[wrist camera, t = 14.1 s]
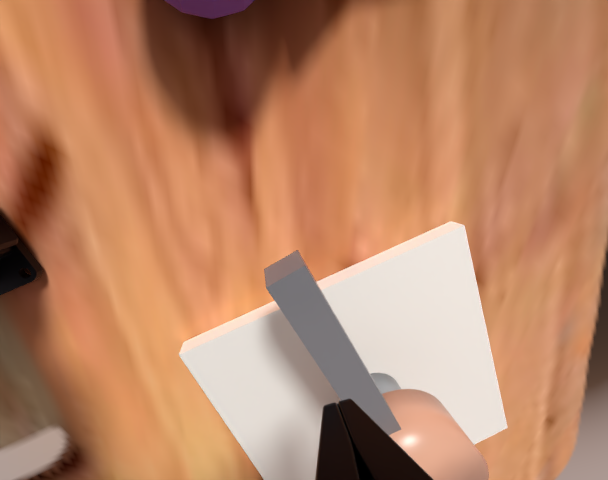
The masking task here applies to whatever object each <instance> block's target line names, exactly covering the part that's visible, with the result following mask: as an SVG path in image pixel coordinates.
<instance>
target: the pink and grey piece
mask: <svg viewBox="0 0 608 480" xmlns="http://www.w3.org/2000/svg"><path fill="white" fill-rule="evenodd" d="M264 272H265V281H266V288H267V290H268V291H269V293H270V294H271V296H272V297H273V299H274V300H275V302H276V303H277V305H278V306H279V308H280V309H281V311H282V312H283V314H284V315H285V317H286V318H287V320H288V321H289V323H290V324H291V326H292V327H293V329H294V330H295V332H296V333H297V335H298V336H299V338H300V339H301V341H302V342H303V344H304V345H305V347H306V348H307V350H308V351H309V353H310V354H311V356H312V357H313V359H314V360H315V362H316V363H317V365H318V366H319V368H320V370H321V371H322V373H323V374H324V376H325V377H326V379H327V380H328V382H329V383H330V385H331V386H332V388H333V389H334V391H335V392H336V394H337V395H338V397H339V398H340V400H345V399H349V398H350V399H352V400H353V401H354V402H355V403H356V404H358V405H359V406H360V407H361V408H362V409H363V410H364V411H365V412H366V413H367V414H368V415H369V416H370V417H371V418H372V419H373V420H374V421H375V422H376V423H377V424H378V425H379V426H380V427H381V428H382V429H383V430H384V431H385V432H386V433H387V434H388V435H389V436H390V437H391V438H392V439H393V440H394V441H395V442H396V443H397V444H398V445H399V446H400V447H401V448H402V449H403V450H404V451H405V452H406V453H407V454H408V455H409V456H410V457H411V458H412V459H413V460H414V461H415V462H416V463H417V464H418V465H419V466H420V467H421V468H422V469H423V470H424V471H425V472H426V473H428V474H429V475H430V476H431V477H432V478H433V479H434V480H488V477H489V472H488V466H487V463H486V461H485V459H484V457H483V456H482V454H481V453H480V452H479V451H478V449H477V448H476V447H475V445H474V444H473V443H472V441H471V440H470V439H469V438H468V436H467V435H466V434H465V432H464V431H463V430H462V429H461V427H460V426H459V425H458V423H457V422H456V421H455V420H454V418H453V417H452V416H451V414H450V413H449V412H448V411H447V409H446V408H445V407H444V405H443V404H442V403H441V402H440V401H439V400H438V399H437V398H436V397H435V396H433V395H431V394H429V393H427V392H424V391H421V390H416V389H399V390H394V391H390V392H386V393H383V394H382V393H381V391H380V390H379V388H378V386H377V385H376V383H375V381H374V380H373V378H372V376H371V374H370V373H369V371H368V369H367V368H366V366H365V364H364V362H363V361H362V359H361V357H360V356H359V354H358V352H357V351H356V349H355V347H354V345H353V344H352V342H351V340H350V339H349V337H348V335H347V333H346V332H345V330H344V328H343V327H342V325H341V323H340V322H339V320H338V318H337V316H336V315H335V313H334V311H333V310H332V308H331V306H330V304H329V303H328V301H327V299H326V298H325V296H324V294H323V293H322V291H321V289H320V287H319V286H318V284H317V282H316V281H315V279H314V277H313V275H312V274H311V272H310V270H309V269H308V267H307V265H306V264H305V262H304V260H303V258H302V257H301V255H300V253H299V252H298V250H297V251H295V252H293V253H291V254H290V255H288V256H286V257H285V258H283V259H281V260H279V261H278V262H276V263H274V264H272V265H271V266H269V267H267V268H265V269H264Z"/></svg>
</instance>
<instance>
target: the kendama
mask: <svg viewBox="0 0 608 480" xmlns="http://www.w3.org/2000/svg"><path fill="white" fill-rule="evenodd" d="M164 1H166V2H167V3H169V4H170V5H171V6H173V7H174V8H176V9H177V10H179V11H180V12H182V13H186V14H191V15H195V16H200V17H204V18H209V19H215V18H219V17H222V16H226V15H230V14H233V13H237V12H241V11H244V10H245V9H246V8H247V7H248V6H249V5H250V4H251V3H252V2H253V1H254V0H164Z"/></svg>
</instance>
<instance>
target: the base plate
mask: <svg viewBox="0 0 608 480" xmlns="http://www.w3.org/2000/svg"><path fill="white" fill-rule="evenodd" d="M317 284H318V286H319V287H320V289H321V291H322V293H323V294H324V296H325V298H326V299H327V301H328V303H329V304H330V306H331V308H332V310H333V311H334V313H335V315H336V316H337V318H338V320H339V322H340V323H341V325H342V327H343V328H344V330H345V332H346V333H347V335H348V337H349V339H350V340H351V342H352V344H353V345H354V347H355V349H356V351H357V352H358V354H359V356H360V357H361V359H362V361H363V362H364V364H365V366H366V368H367V369H368V371H369V373H370V374H371V376H372V378H373V380H374V381H375V383H376V385H377V386H378V388H379V390H380V391H381V393H382V394H383V393H386V392H390V391H394V390H399V389H416V390H421V391H424V392H427V393H429V394H431V395H433V396H435V397H436V398H437V399H438V400H439V401H440V402H441V403H442V404H443V405H444V407H445V408H446V409H447V411H448V412H449V413H450V414H451V416H452V417H453V418H454V420H455V421H456V422H457V423H458V425H459V426H460V427H461V429H462V430H463V431H464V432H465V434H466V435H467V436H468V438H469V439H470V440H471V441H472V443H473V444H476V443H478V442H480V441H482V440H484V439H486V438H488V437H490V436H492V435H494V434H496V433H498V432H500V431H502V430H504V429H506V428H507V423H506V419H505V414H504V409H503V405H502V400H501V395H500V390H499V386H498V381H497V376H496V372H495V367H494V362H493V358H492V353H491V348H490V343H489V339H488V334H487V329H486V325H485V320H484V315H483V311H482V306H481V301H480V296H479V292H478V287H477V282H476V278H475V273H474V268H473V264H472V259H471V254H470V250H469V245H468V240H467V235H466V231H465V226H464V225H462V224H459V223H455V222H452V221H450V222H448V223H445V224H443V225H441V226H439V227H437V228H434V229H432V230H430V231H428V232H426V233H423V234H421V235H419V236H417V237H414V238H412V239H410V240H408V241H406V242H403V243H401V244H399V245H397V246H395V247H392V248H390V249H388V250H386V251H383V252H381V253H379V254H377V255H375V256H372V257H370V258H368V259H366V260H364V261H361V262H359V263H357V264H355V265H353V266H350V267H348V268H346V269H344V270H341V271H339V272H337V273H335V274H333V275H330V276H328V277H326V278H324V279H322V280H319V281H317ZM179 356H180V357H181V359H182V360H183V362H184V363H185V365H186V366H187V368H188V369H189V371H190V372H191V374H192V375H193V376H194V378H195V379H196V381H197V382H198V384H199V385H200V387H201V388H202V390H203V391H204V393H205V394H206V396H207V397H208V398H209V400H210V401H211V403H212V404H213V406H214V407H215V409H216V410H217V412H218V413H219V415H220V416H221V417H222V419H223V420H224V422H225V423H226V425H227V426H228V428H229V429H230V431H231V432H232V434H233V435H234V437H235V438H236V439H237V441H238V442H239V444H240V445H241V447H242V448H243V450H244V451H245V453H246V454H247V456H248V457H249V459H250V460H251V461H252V463H253V464H254V466H255V467H256V469H257V470H258V472H259V473H260V475H261V476H262V478H263V479H264V480H315V477H316V467H317V458H318V448H319V439H320V429H321V420H322V410H323V406H324V405H327V404H330V403H334V402H336V403H337V404H338V402H339V401H341V400H340V398H339V397H338V395H337V394H336V392H335V391H334V389H333V388H332V386H331V385H330V383H329V382H328V380H327V379H326V377H325V376H324V374H323V373H322V371H321V370H320V368H319V366H318V365H317V363H316V362H315V360H314V359H313V357H312V356H311V354H310V353H309V351H308V350H307V348H306V347H305V345H304V344H303V342H302V341H301V339H300V338H299V336H298V335H297V333H296V332H295V330H294V329H293V327H292V326H291V324H290V323H289V321H288V320H287V318H286V317H285V315H284V314H283V312H282V311H281V309H280V308H279V306H278V305H277V303H276V302H275V301H273V302H271V303H268V304H266V305H264V306H262V307H260V308H257V309H255V310H253V311H251V312H249V313H246V314H244V315H242V316H240V317H237V318H235V319H233V320H231V321H229V322H226V323H224V324H222V325H220V326H218V327H215V328H213V329H211V330H209V331H206V332H204V333H202V334H200V335H198V336H195V337H193V338H191V339H189V340H187V341H184V342H183V345H182V348H181V350H180V353H179Z"/></svg>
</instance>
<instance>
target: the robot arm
mask: <svg viewBox="0 0 608 480" xmlns="http://www.w3.org/2000/svg"><path fill="white" fill-rule="evenodd" d="M25 269H28V270H29V271H30V272H31V275H30V274H28V273H26V271H25ZM41 275H42V268H41V266H40V265H39V263H38V262H37V261H36V260H35V258H34V257H33V256H32V255H31V253H30V252H29V251H28V249H27V248H26V247H25V246H24V244H23V243H22V242H21V241H20V239H19V238H18V236H17V235H16V234H15V233H14V231H13V230H12V229H11V228H10V226H9V225H8V224H7V222H6V221H5V220H4V219H3V217H2V216H1V215H0V295H2V294H4V293H6V292H9V291H11V290H13V289H16V288H18V287H20V286H23V285H25V284H27V283H30V282H32V281H34V280H36V279H37V278H39V277H40V276H41ZM315 480H434V479H433V478H432V477H431V476H430V475H429V474H428V473H426V472H425V471H424V470H423V469H422V468H421V467H420V466H419V465H418V464H417V463H416V462H415V461H414V460H413V459H412V458H411V457H410V456H409V455H408V454H407V453H406V452H405V451H404V450H403V449H402V448H401V447H400V446H399V445H398V444H397V443H396V442H395V441H394V440H393V439H392V438H391V437H390V436H389V435H388V434H387V433H386V432H385V431H384V430H383V429H382V428H381V427H380V426H379V425H378V424H377V423H376V422H375V421H374V420H373V419H372V418H371V417H370V416H369V415H368V414H367V413H366V412H365V411H364V410H363V409H362V408H361V407H360V406H359V405H358V404H356V403H355V402H354V401H353V400H352V399H350V398H349V399H345V400H341V401H339V402H338V404H337V403H336V402H334V403H330V404H327V405H324V406H323V410H322V420H321V429H320V439H319V448H318V458H317V467H316V477H315Z"/></svg>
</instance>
